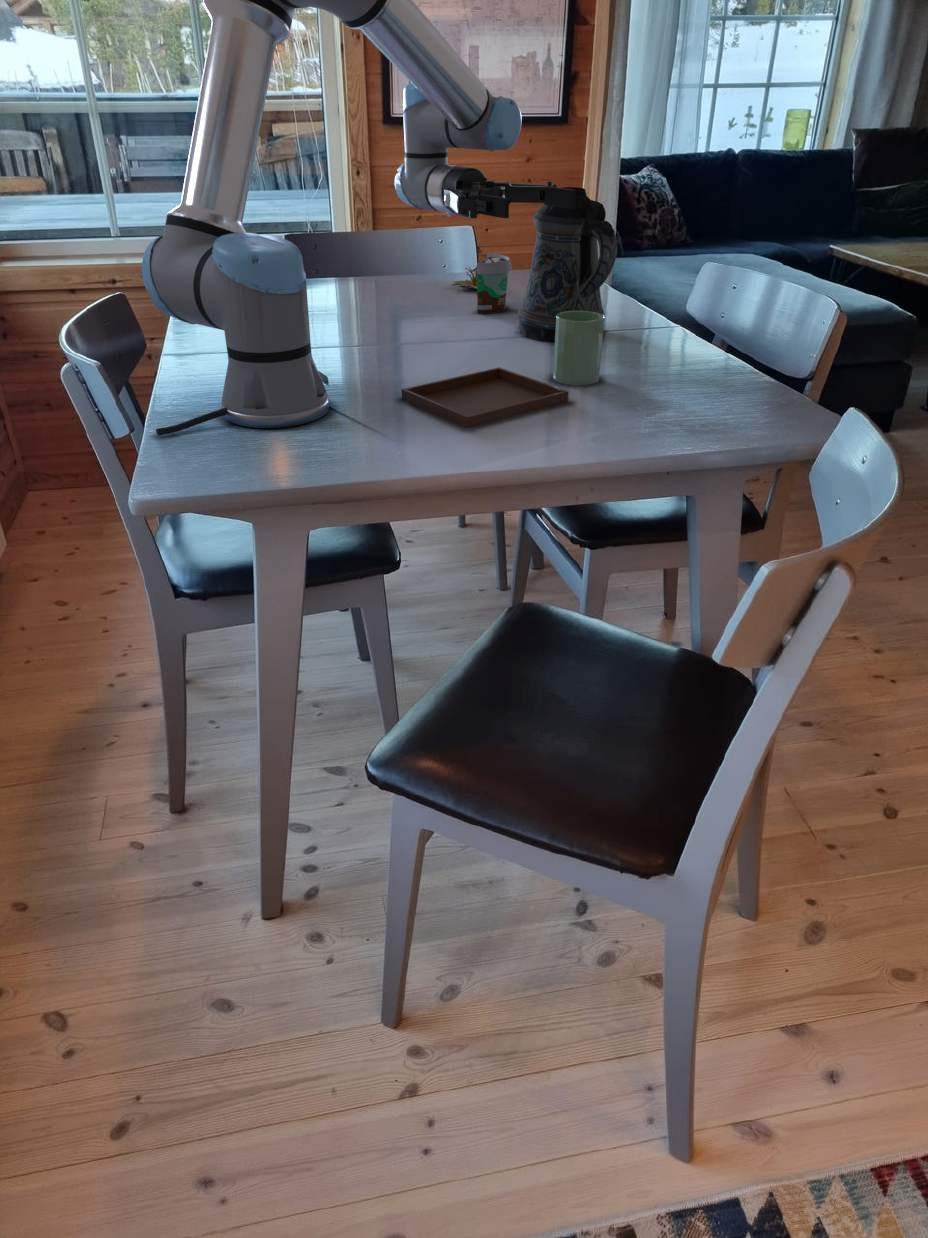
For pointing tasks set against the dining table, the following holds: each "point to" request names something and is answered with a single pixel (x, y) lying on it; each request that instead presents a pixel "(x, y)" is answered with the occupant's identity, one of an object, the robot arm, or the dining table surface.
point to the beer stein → (567, 264)
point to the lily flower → (467, 281)
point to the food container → (492, 283)
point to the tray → (484, 396)
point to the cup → (578, 347)
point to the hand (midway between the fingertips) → (541, 203)
